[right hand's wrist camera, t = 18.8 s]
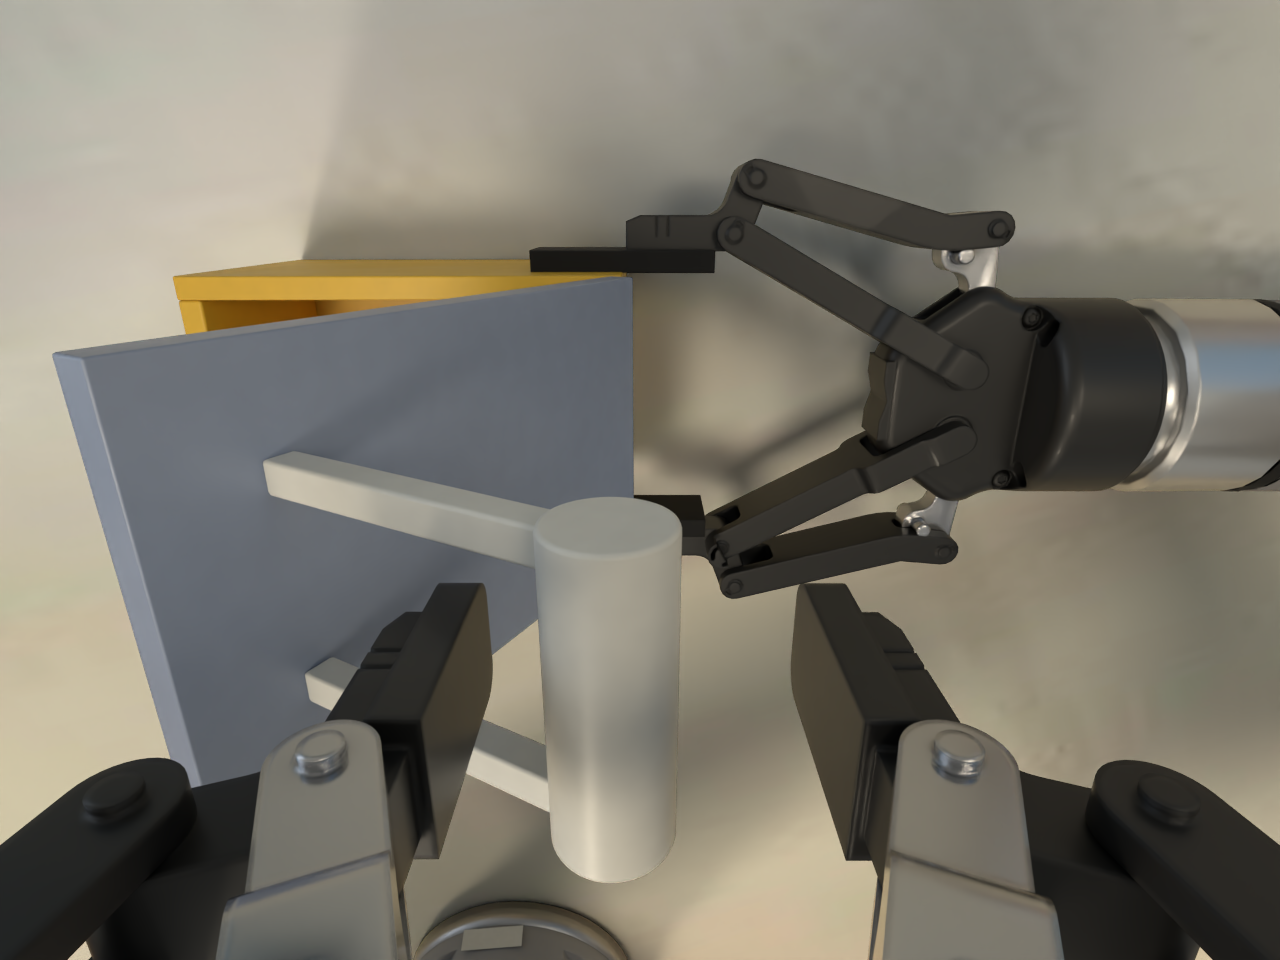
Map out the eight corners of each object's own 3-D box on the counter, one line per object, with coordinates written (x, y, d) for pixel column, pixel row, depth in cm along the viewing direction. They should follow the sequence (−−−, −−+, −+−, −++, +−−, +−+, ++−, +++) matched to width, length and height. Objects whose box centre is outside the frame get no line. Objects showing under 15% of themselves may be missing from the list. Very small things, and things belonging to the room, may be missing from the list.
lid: (195, 847, 14) (580, 1111, 10) (49, 352, 10) (547, 439, 6) (614, 539, 27) (853, 597, 23) (610, 276, 23) (890, 288, 19)
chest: (331, 457, 36) (230, 537, 27) (299, 259, 32) (171, 276, 23) (628, 456, 36) (624, 537, 27) (626, 259, 32) (621, 275, 23)
